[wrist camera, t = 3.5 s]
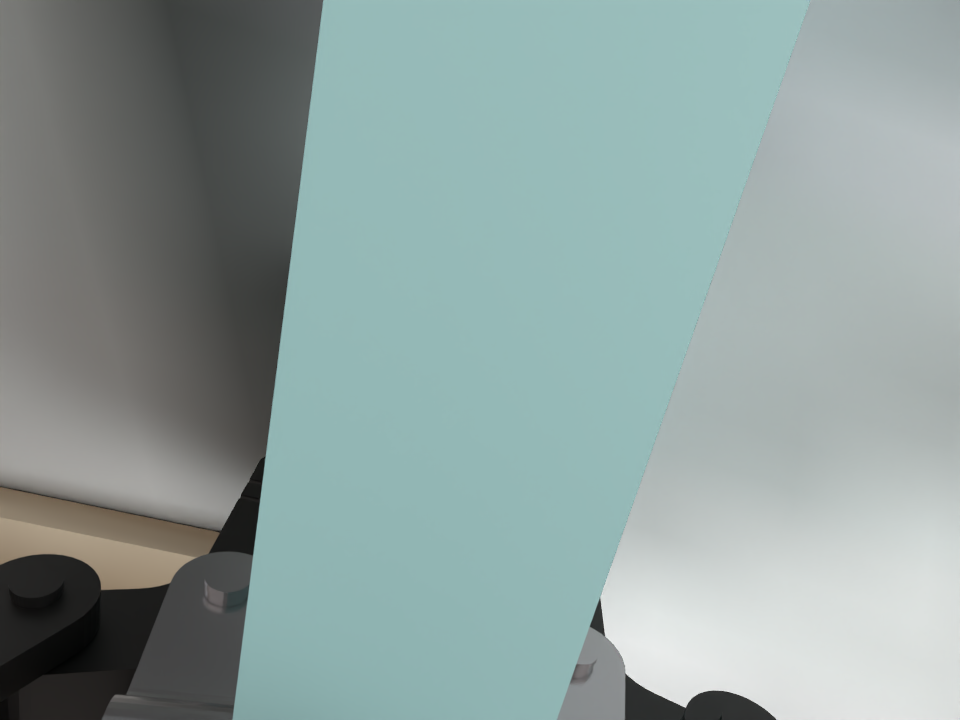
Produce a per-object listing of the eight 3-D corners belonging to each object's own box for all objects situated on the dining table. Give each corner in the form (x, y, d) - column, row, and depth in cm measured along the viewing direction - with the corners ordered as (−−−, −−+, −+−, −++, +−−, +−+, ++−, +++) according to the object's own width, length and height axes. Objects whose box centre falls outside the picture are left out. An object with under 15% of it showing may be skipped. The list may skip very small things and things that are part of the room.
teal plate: (536, -478, 9) (578, -2014, 2) (737, -425, 10) (1414, -1717, 2) (353, 515, 15) (198, 1000, 8) (481, 541, 15) (442, 1044, 8)
